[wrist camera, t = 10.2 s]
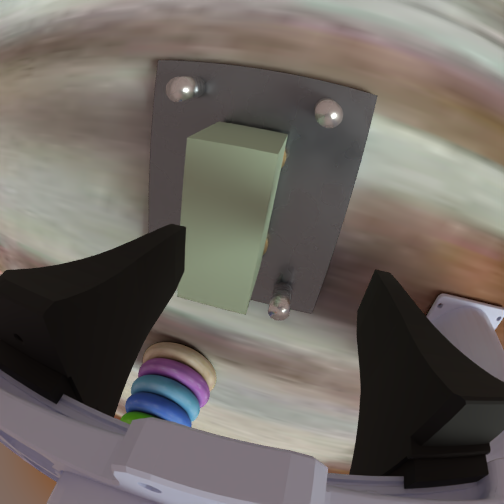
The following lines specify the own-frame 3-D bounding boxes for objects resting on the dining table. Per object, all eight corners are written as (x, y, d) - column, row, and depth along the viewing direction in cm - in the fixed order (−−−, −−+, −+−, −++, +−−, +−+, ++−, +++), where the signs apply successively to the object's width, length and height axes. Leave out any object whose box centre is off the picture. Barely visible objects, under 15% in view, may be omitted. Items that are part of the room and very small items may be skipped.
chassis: (312, 305, 25) (309, 337, 22) (154, 266, 26) (136, 292, 23) (374, 94, 16) (386, 98, 13) (165, 60, 17) (138, 59, 14)
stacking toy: (143, 328, 30) (53, 491, 14) (220, 350, 29) (154, 537, 14) (151, 374, 34) (85, 511, 19) (216, 393, 34) (166, 544, 18)
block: (260, 265, 22) (245, 314, 18) (203, 252, 22) (177, 296, 18) (287, 134, 17) (278, 154, 13) (219, 121, 17) (187, 137, 13)
